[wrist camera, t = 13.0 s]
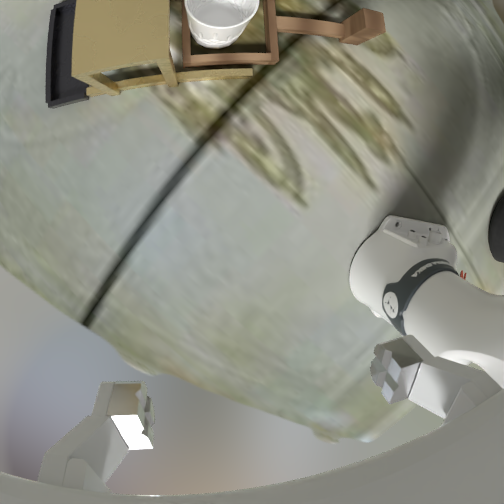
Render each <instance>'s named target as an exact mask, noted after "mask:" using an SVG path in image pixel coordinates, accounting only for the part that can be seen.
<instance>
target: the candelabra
mask: <svg viewBox="0 0 504 504" xmlns="http://www.w3.org/2000/svg"><path fill="white" fill-rule="evenodd" d="M489 245H490V250H491V253H492V255H493V257H494V259H495V260H497V261H499V262H503V263H504V197H503V198H502V199H501V201H500V202H499V203H498V205H497V207H496V209H495V210H494V213H493V217H492V219H491V223H490V229H489Z"/></svg>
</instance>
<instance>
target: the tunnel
mask: <svg viewBox="0 0 504 504" xmlns="http://www.w3.org/2000/svg"><path fill="white" fill-rule="evenodd" d="M169 22H170V0H68V1H65V2H62V3H59V4H56V5H54V9H53V10H51V15H50V23H49V32H48V43H47V59H46V103H48V108H57V107H61V106H65V105H68V104H72V103H76V102H80V101H85V100H89V96H90V97H93V96H98V95H102V94H109V95H111V96H115V95H120V91H123V90H129V89H135V88H141V87H148V86H155V85H163V84H168V86H169V87H176V86H178V83H180V82H191V81H203V80H219V79H249V78H251V77H252V76H253V69H252V68H246V69H216V70H200V71H188V72H178V73H176V70H175V66H174V63H173V59H172V56H171V52H170V33H169ZM150 63H157V64H158V66H159V68H160V70H161V72H162V74H160V75H153V76H146V77H139V78H133V79H127V80H122V81H117V82H113V81H112V80H111V79H109V78H108V77H106V76H105V75H103V74H102V73H100V72H105V71H110V70H115V69H120V68H125V67H131V66H137V65H143V64H150ZM88 84H89V85H91V86H93V87H88Z"/></svg>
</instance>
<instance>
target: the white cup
mask: <svg viewBox="0 0 504 504" xmlns="http://www.w3.org/2000/svg"><path fill="white" fill-rule="evenodd" d="M184 3H185V9H186V14H187V20H188V24H189V28H190V30H191V35H192V37H193V38H194V39H195V41H196V42H197V43H198V44H200V45H202V46H204V47H205V48H211V49H220V48H224V47H227V46H230V45H231V44H232V43H233V42H235V41H236V40H237V39H238V37H239V36H240V35H241V33H242V32H243V31H244V29H245V28H246V27H247V25H248V24H249V22H250V20H251V19H252V17H253V16H254V14H255V13H256V11H257V9H258V6H259V0H184Z"/></svg>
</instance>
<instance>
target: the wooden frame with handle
mask: <svg viewBox="0 0 504 504" xmlns="http://www.w3.org/2000/svg"><path fill="white" fill-rule="evenodd" d="M263 10H264V25H265V40H266V53H221V54H203V55H191V43H190V28H189V24H188V20H187V14H186V9H185V3H184V0H182V53H183V68H187V67H199V66H214V65H244V64H265V65H274V64H276V63H277V62H278V61H279V53H278V38H277V32H286V33H299V34H309V35H318V36H326V37H334V38H339V42H341V43H347V44H353V45H359V44H361V43H363V42H365V41H367V40H369V39H371V38H374V37H376V36H378V35H380V34H382V33H385V32H386V30H385V23H384V17H383V13H381V12H377V11H373V10H369V9H365V8H363V9H361V10H359V11H358V12H356V13H355V14H353V15H352V16H350V17H349V18H347V19H346V20H344V21H343V22H341V23H334V22H328V21H321V20H313V19H305V18H295V17H283V16H276V11H275V0H263Z"/></svg>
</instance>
